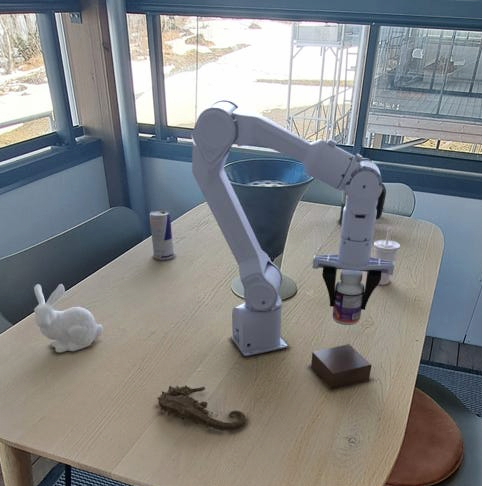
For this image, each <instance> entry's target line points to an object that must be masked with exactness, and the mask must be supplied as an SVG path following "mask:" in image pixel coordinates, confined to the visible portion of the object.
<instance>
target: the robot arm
mask: <svg viewBox="0 0 482 486" xmlns="http://www.w3.org/2000/svg"><path fill="white" fill-rule="evenodd" d="M190 136H191V139H192V159H191V161H192V163H191V164H192V165H191V172H192V175H193V179H195V181H196V184H197V186H198V188H199V189H200V191H201V193H202V196H203V197H204V200H205V202H206V204H207V205H208V207H209V209H210V212H211V213H212V215H213V217H214V219H215V222H216V223H217V226H218V228H219V230H220V232H221V233H222V235H223V237H224V240H225V242H226V243H227V245H228V247H229V249H230V251H231V254H232V255H233V257H234V259H235V261H236V263H237V265H238V271H239V280H240V282H241V284H242V286H243V292H244V293H243V296H244V297H243V299H244V302H243V303H242V304H240V305H237V306H235V307H233V308H232V311H231V323H232V324H231V325H232V327H231V328H232V329H231V330H232V333H231V334H232V335H231V340H232V342H233V343H234V344H235V345H236V347H237V348H238V349H239V351H240V352H241V353H242V355H243V356H245V357H249V356H254V355H258V354H264V353H268V352H273V351H277V350H278V351H279V350H283V349H287V348H288V344H287V343H286V341H285V340H284V339H283V338H282V337H281V330H282V329H281V328H282V326H281V325H282V305H283V304H282V303H283V301H282V298H281V297H280V295H279V290H280V287H281V284H282V282H283V274H282V271H281V269H280V268H279V266H277V265H276V264H275V263H274V262H273V261H272V260H271V259H270V257H269V254H268V253H266V251H264V250H263V249H262V248H261V245H260V243H259V241H258V239H257V237H256V234H255V233H254V230H253V228H252V226H251V224H250V222H249V219H248V218H247V215H246V213H245V211H244V209H243V207H242V205H241V203H240V201H239V199H238V196H237V194H236V192H235V191H234V188H233V186H232V184H231V182H230V179H229V177H228V175H227V172H226V171H225V165H226V162H227V160H228V156H229V155H230V150H231V148H232V146H233V145H234V144H235V143H236V141H237V147H243V146H247V145H253V144H259V145H262V146H264V147H267V149H268V148H269V149H271V150H273V151H275V152H277V153H280V154H281V155H284V156H286V157H289V158H291V159H293V160H295V161H298V162H299V163H301V164H302V167H303V170H304V172H305V174H306V175H308V176H310V177H312V178H314V179H316V180H317V181H320V182H321V183H323V184H325V185H327V186H329V187H331V188H334V189H335V190H337V191H343V190H344V191H346V194H347V195H346V204H345V207H344V209H343V217H342V224H341V227H340V235H339V236H340V237H339V244H338V253H335V254H314V255H313V259H312V269H314V270H315V269H316V270H318V269H321V268H322V273H321V274H322V279H323V282H324V284H325V287H326V290H327V292H328V299H329V307H332V308H333V306H334V296H335V287H336V283H337V281H336V280H337V273H338V270H341V271H342V270H353V271H362V272H366V279H365V285H364V296H363V302H362V308H361V311H363V310H364V311H365V310H366V307H367V305H368V302H369V300H370V297H371V296H372V294H373V293H374V291H375V289H376V288H377V286H378V285H380V284H379V282H380V280H381V273H387V275H390V276H393V275H394V270H395V262H394V261H387V260H382V259H378V258H374V257H372V256H371V254H372V248H373V240H374V234H375V228H376V227H375V226H376V220H377V219H376V214H377V210H376V207H377V204H378V198H379V196H380V195H381V192H382V190H383V187H382V183H383V181H382V175H381V171H380V169H379V167H378V165H377V164H376V163H375V162H373V161H372V160H371V159H370V158H367V157H363V156H362V155H361V154H359V153H356V155H354V154H352V153H351V152H348V151H346V150H345V149H343V148H340V147H339V146H337V141H336V140H334V139H333V138H328V140H325V139H323V138H319V139H317V140H315V141H308V140H306V139H305V138H303V137H301V136H300V135H297V134H296V133H295V132H292V131H290V130H289V129H287V128H285V127H284V126H282V125H280V124H278V123H276V122H275V121H273V120H271V119H270V118H268V117H266V116H264V115H262V114H261V113H259V112H257V111H255V110H253V109H251V108H249V107H247V106H243V105H239V106H238V105H237V103H235V102H234V101H232V100H229V99H220V100H217V101H216V102H214V103H213V104H212V105H211V106H210V107H208V108H206V109H204V110H203V111H202V112H201V113H200V114H199V116H198V117H197V119H196V122H195V125H194V127H193V129H192V131H191V134H190Z"/></svg>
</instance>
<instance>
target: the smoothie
mask: <svg viewBox="0 0 482 486" xmlns="http://www.w3.org/2000/svg"><path fill="white" fill-rule="evenodd" d="M390 233H391V226H388V228H387V231H386V239H379V240H375V241H374V242H373V245H372V248H373V256H374V257H373V258H378V259H382V260H387V261H394V263H395V262H396V259H397V255H398V252H400V249H401V244H400V243H399V242H397V241H394V240H391V239H390ZM390 279H391V275H387V273H381V280H380V282H379V284H378V285H382V286H385V285H388V284H389V281H390Z"/></svg>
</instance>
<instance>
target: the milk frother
mask: <svg viewBox="0 0 482 486" xmlns="http://www.w3.org/2000/svg"><path fill="white" fill-rule="evenodd" d="M382 187H383V190H382V192H381V195H380V196H379V198H378V204H377V207H376V210H377V214H376V220H379V219H380V218H381V217H382V215H383V211H384V206H385V201H386V196H387V189H386V186H385V185H384V183H383V182H382ZM346 195H347V194H346V191H344V190H342V194H341V206H340V214H339V219H338V223H339V224H340V225H342V217H343V209H344V207H345V204H346Z"/></svg>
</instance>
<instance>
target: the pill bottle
mask: <svg viewBox="0 0 482 486" xmlns="http://www.w3.org/2000/svg"><path fill="white" fill-rule="evenodd" d="M363 275H364V274H363V271H353V270H342V269H341V271H340V275H339V276H340V277H339V278H340V279H339V280H338V281H336V283H335V296H334V306H333V307H332V320H333V321H334V322H335V323H336V324H338V325H342V326H354V325H356V324H358V323H359V322H360V320H361V315H362V309H361V308H362V302H363V296H364V290H365V285H364V283H363V282H362V281H363Z"/></svg>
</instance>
